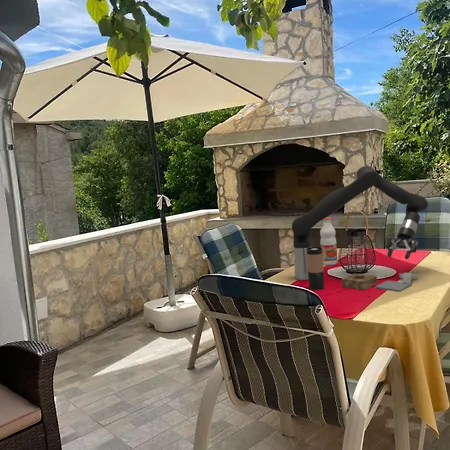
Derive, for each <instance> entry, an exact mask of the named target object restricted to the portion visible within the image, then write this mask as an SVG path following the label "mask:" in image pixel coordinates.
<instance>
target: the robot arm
mask: <svg viewBox="0 0 450 450" xmlns="http://www.w3.org/2000/svg"><path fill="white" fill-rule="evenodd" d="M356 177H357V178H356V179H355V180H353V181H352V182H350V183H349V184H347V185H345V186H342V187H340V188H337V189H336V190H333V191H332V192H330V193H329V194H327V195H326V196H325V197H324V198H322V199H321V200H320V201H319V202H318V203H317V204H316V205H315V206H314V207H313V208H312V209H311V210H309V211H308V212H306V213H305V214H303V215H302V216H297V217H295V219H294V220H293V221H292V224H291V230H292V232H293V234H292V235H293V244H292V245H293V255H294V256H293V257H294V261H293V265H294V278H295V279H296V280H298V281H309V277H308V264H307V248H309V247H312V237H311V236H312V234H311V230H312V228H313V227H315V226H316V225H317V224H318V223H320V222H321V221H323V219H325V218H326V217H329V216H330V217H331V215H333V214H334V213H336V212H337V211H339V210H340V209H341V208H342V207H344V206H346V205H347V204H348V203H350V202H351V201H352V200H353V199H355V198H356V197H357V196H359V195H360V194H362V193H364V192H366V191H367V190H369V189H370V188H372V187H374V188H376V189H378V190H379V191H381V192H382V193H384V194H385V195H386V196H388V197H389V199H390V198H391V199H392V200H394V201H395V202H397V203H398V204H400V205H404V206H405V205H406V206H405V216H404V218H403V222H401V225H400V228H399V230H398V233H397V236H396V238H395V239H393V238H392V237H390V238H389V240H388V242H387V244H386V246H385V248H386V250H387V254H386V255H387V256H388V258H392V255H393V254H394V253H393V252H394V251H395V250H397V249H403V250H404V249H406V253H405V255H404V259H405V260H409V259H410V256H411V254H412V253H416V252H417V249H418V245H419V242H418V240H417V239H414V238H415V236H416V233H417V230H418V226H419V223H420V221H421V217H420V216H421V215H420V214H419V213H420V212H423V211H425V210H426V209H427V208H428V206H429V202H428V200H427V199H426V198H425V196H422V195H419V194H416V193H413V192H409V191H408V190H406V189H404V188H403V187H400V186H399V185H397V184H395V183H394V182H393V181H392V182H391V180H388V179H386V178H385V177H383V176H382V175H380V174H379V173H378V172H377V171H376V170H375V169H374V168H373V167H372V166H369V165H368V166H367V165H364V166H361V167H360V168H358V170H357V172H356ZM411 245H412V247H410V246H411Z"/></svg>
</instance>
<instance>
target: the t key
mask: <svg viewBox="0 0 450 450" xmlns="http://www.w3.org/2000/svg"><path fill="white" fill-rule="evenodd" d="M399 278H400V279H402V283H409V284H412V281H413V279H418V273H412V272H403V273H399Z"/></svg>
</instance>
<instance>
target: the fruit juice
mask: <svg viewBox="0 0 450 450" xmlns="http://www.w3.org/2000/svg"><path fill="white" fill-rule="evenodd" d="M322 221H323V223H322V227H321V229H320V231H319V233H320V234H319V235H320V243H319V244H320V247H321V248H322V253H323V266H333V265H336V264H338V248H337V247H338V246H337V238H336V233H337V232H336V229H335V228H334V226H333V224H332V217H331V216H330V217H329V216H328V217H326V218H325V219H323V220H322Z"/></svg>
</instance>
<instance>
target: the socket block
mask: <svg viewBox="0 0 450 450" xmlns="http://www.w3.org/2000/svg"><path fill="white" fill-rule="evenodd" d="M377 285H378V276H377V275H372V274H370V275H369V274H363V273H355V272H354V273H352V274H349V275H348V276H345V277H343V278H341V287H342V288H347V289H354V290H362V291H366V290H368V289H369V288H372V287H373V286H377Z"/></svg>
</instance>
